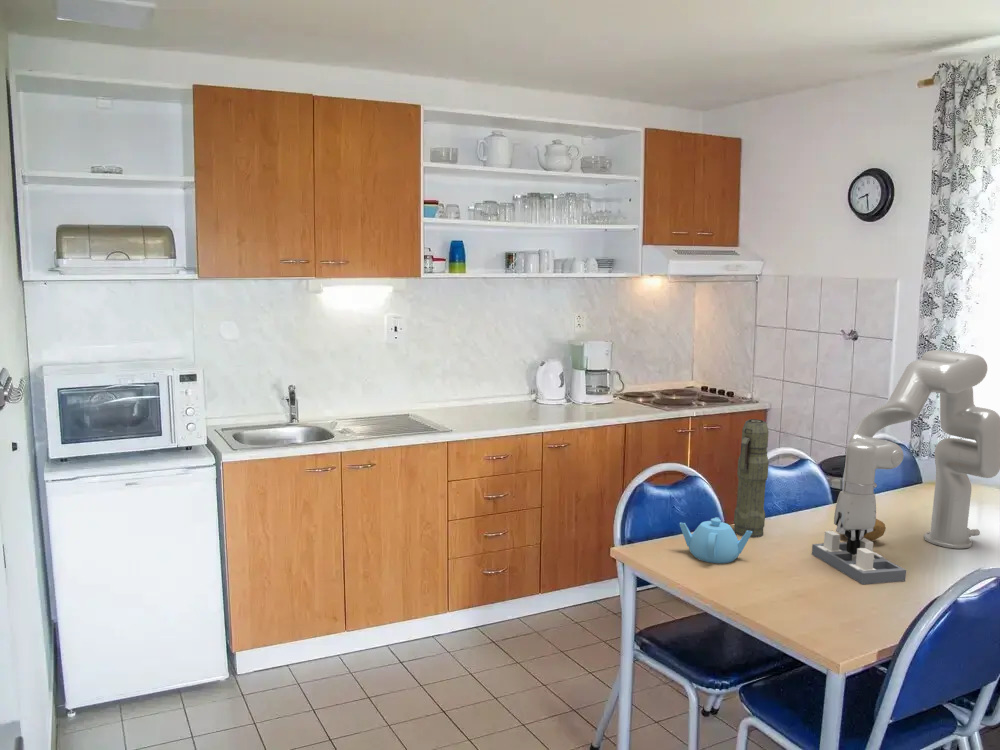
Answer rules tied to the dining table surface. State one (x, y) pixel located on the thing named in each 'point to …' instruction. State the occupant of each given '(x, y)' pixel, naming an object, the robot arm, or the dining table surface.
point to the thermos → (752, 479)
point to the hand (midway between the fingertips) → (852, 552)
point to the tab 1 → (831, 541)
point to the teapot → (714, 541)
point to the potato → (875, 531)
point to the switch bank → (844, 563)
